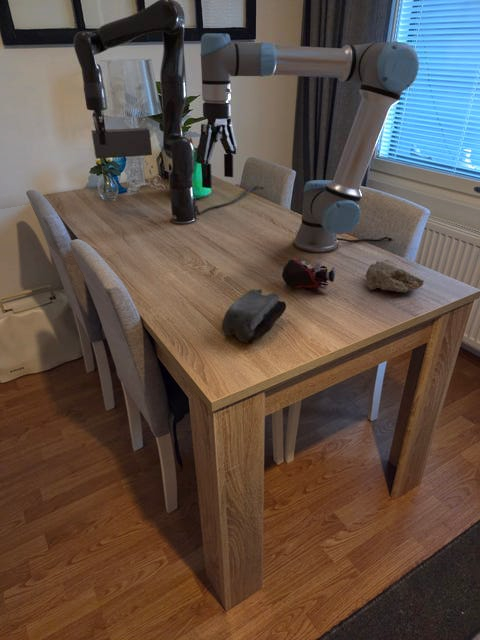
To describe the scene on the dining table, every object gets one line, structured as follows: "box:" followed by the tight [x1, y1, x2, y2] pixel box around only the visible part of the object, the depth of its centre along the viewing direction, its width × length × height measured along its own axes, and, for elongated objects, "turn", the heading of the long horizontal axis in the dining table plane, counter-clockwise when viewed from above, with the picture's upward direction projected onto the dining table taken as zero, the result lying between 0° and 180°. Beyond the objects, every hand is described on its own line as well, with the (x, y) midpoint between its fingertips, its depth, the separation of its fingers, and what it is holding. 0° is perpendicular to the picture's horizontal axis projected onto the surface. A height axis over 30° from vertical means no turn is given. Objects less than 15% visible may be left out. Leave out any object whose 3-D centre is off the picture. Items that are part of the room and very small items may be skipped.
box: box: [90, 127, 153, 160], centre depth 177 cm, size 22×6×10 cm, turn 111°
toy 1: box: [168, 137, 212, 200], centre depth 210 cm, size 20×20×25 cm
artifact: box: [365, 259, 424, 293], centre depth 134 cm, size 18×8×15 cm
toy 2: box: [281, 258, 336, 295], centre depth 131 cm, size 12×9×15 cm
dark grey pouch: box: [221, 289, 287, 345], centre depth 112 cm, size 18×11×8 cm, turn 152°
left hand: (102, 143), depth 174 cm, fingers closed on box, 6 cm apart
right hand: (218, 182), depth 130 cm, fingers open, 13 cm apart
